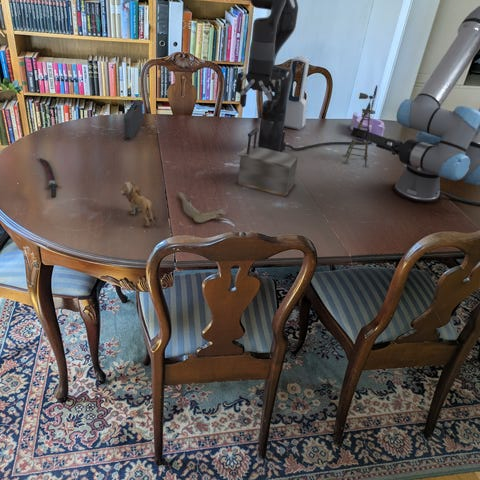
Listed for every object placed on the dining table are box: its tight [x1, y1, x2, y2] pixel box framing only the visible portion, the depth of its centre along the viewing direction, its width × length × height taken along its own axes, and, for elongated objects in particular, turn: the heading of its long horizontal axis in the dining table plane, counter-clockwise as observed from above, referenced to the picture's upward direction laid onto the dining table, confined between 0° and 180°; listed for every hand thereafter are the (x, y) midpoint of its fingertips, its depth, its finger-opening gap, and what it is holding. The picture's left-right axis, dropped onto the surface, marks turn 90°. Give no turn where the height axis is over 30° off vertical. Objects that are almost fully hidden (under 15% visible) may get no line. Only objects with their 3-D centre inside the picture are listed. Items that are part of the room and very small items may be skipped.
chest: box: [237, 157, 299, 197], centre depth 159 cm, size 17×10×10 cm, turn 68°
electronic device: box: [284, 56, 310, 131], centre depth 208 cm, size 12×8×30 cm, turn 71°
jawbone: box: [177, 191, 228, 224], centre depth 141 cm, size 9×20×2 cm, turn 50°
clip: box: [349, 112, 386, 142], centre depth 214 cm, size 20×12×7 cm, turn 11°
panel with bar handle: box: [237, 126, 299, 169], centre depth 154 cm, size 18×10×8 cm, turn 68°
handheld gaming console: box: [123, 99, 144, 141], centre depth 190 cm, size 23×3×10 cm, turn 178°
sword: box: [40, 158, 59, 198], centre depth 151 cm, size 31×3×1 cm, turn 26°
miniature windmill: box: [345, 85, 378, 167], centre depth 179 cm, size 9×8×30 cm
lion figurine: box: [119, 181, 159, 227], centre depth 134 cm, size 15×5×9 cm, turn 50°
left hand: (255, 109), depth 150 cm, fingers open, 8 cm apart
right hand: (365, 137), depth 155 cm, fingers open, 13 cm apart
